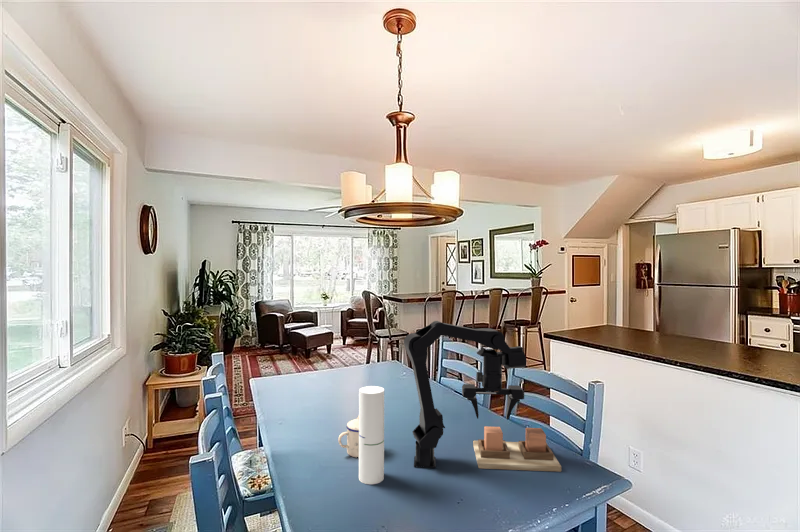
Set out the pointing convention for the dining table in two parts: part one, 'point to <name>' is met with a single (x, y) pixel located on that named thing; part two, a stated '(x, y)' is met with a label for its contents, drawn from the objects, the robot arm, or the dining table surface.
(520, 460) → the socket board
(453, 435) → the dining table surface
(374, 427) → the cylindrical container
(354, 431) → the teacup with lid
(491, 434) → the loose block
